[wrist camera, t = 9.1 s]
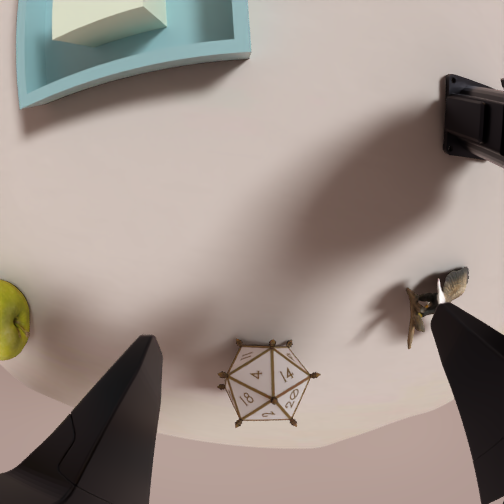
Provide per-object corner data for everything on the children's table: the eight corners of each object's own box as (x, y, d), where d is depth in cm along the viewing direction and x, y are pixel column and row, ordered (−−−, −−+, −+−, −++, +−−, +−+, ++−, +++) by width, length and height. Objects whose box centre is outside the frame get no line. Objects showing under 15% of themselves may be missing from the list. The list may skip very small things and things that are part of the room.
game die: (254, 310, 30) (269, 322, 20) (315, 357, 30) (353, 385, 20) (200, 375, 28) (191, 413, 18) (262, 418, 28) (279, 466, 18)
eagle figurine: (393, 339, 27) (461, 334, 25) (419, 359, 20) (496, 349, 18) (399, 265, 27) (467, 266, 26) (429, 265, 20) (505, 267, 19)
